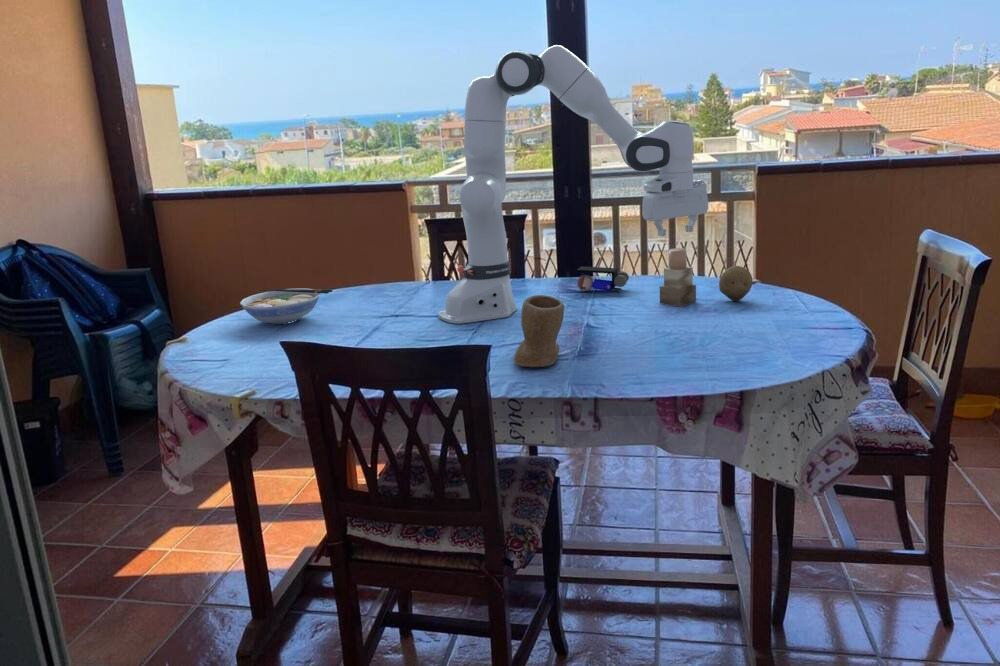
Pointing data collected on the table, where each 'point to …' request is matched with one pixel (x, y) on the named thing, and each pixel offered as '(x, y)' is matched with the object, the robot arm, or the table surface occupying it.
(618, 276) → the toy car
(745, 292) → the natural sponge
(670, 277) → the tower top
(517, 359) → the stone cup
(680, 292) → the tower base
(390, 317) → the table surface
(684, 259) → the tan rounded cylinder
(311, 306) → the ramen bowl
